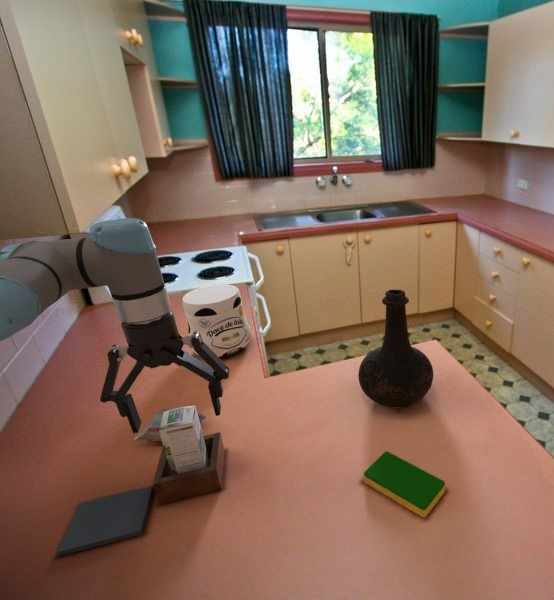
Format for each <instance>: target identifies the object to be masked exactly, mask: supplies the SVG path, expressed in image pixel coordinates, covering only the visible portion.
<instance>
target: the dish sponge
mask: <svg viewBox="0 0 554 600" xmlns="http://www.w3.org/2000/svg"><path fill="white" fill-rule="evenodd" d="M363 478H364V479H363V480H364V484H366V485H367V486H369V487H371V488H372V489H375V490H376V491H378V493H381V494H382V495H384V496H386V497H388V498H390V499H391V500H392V501H394V502H396V503H398V504H399V505H401V506H403V507H405V508H406V509H407V510H408V511H409V510H410V511H412V512H413V513H414V514H416V515H418V516H420V517H421V518H426V517H427V516H428V515H429V513H430V512H431V511H432V509H433V508H434V507H435V506H436V504H437V503H438V501H439V500H440V499H441V497H442V496H443V495H444V494H445V492H446V482H445V481H444V480H443V479H441V478H439V477H437V476H435V475H433V474H431V473H430V472H428V471H425V470H424V469H422V468H420V467H418V466H416V465H415V464H412V463H410V462H409V461H406V460H405V459H403V458H400V457H399V456H398V455H396V454H393V453H391V452H390V451H384V452H383V453H382V454H381V455H380V456H379V457H378V458H377V459H376V460H375V461H374V462H373V463H372V464H371V465H370V466H368V467H367V468H366V470H364V472H363Z"/></svg>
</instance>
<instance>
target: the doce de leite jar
mask: <svg viewBox="0 0 554 600" xmlns="http://www.w3.org/2000/svg"><path fill="white" fill-rule="evenodd" d="M181 300H182V301H181V302H182V308H183V311H184V316H185V318H186V322H187V327H188V332H187V336H190V335H193V333H194V332H195V331H197V332H199V333H200V335H201V337H202V340H203V342H204V343H205V344H206V345H207V346H208V347H209V348H210V349H211V350H212V351H213V352H214V353H215V354H216V355H217V356H218V357H219V358H220V359H221V358H225V357H228V356H232V355H234V354H236V353H239V352H240V351H242V350H243V349H245V348H246V347H247V346H248V345H249V343H250V342H251V338H252V330H251V329H252V328H251V325H250V323H249V321H248V318H247V317H246V315H245V310H244V305H243V304H244V303H243V301H242V296H241V291H240V289H239V288H238V287H237V286H236V285H233V284H226V283H219V284H218V283H217V284H211V285H205V286H201V287H198V288H194V289H192V290H190V291H188V292H187V293H186V294H184V295H183V297H182V299H181ZM190 349H191V350H192V352H193V353H194V354H195V355H196V356H198V357H200V356H199V355H198V354H197V352H196V351H195V350H194V348H190Z"/></svg>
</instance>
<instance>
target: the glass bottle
mask: <svg viewBox="0 0 554 600" xmlns="http://www.w3.org/2000/svg"><path fill="white" fill-rule="evenodd" d="M384 295H385V296H384V297H383V298H382V299H381V303H382V304H383V305H385V325H384V336H383V341H382V345H381V346H379V347H377V348H375V349H373V350H371V351H370V352H369V353H367V354H366V356H364V357H363V359H362V360H361V363H360V365H359V369H358V377H357V378H358V383H359V386H360V389H361V390H362V392H363V393H364V394H365V396H367V397H368V399H370V400H371V401H372V402H373V403H375V404H378V405H380V406H382V407H386V408H391V409H402V408H403V409H404V408H407V407H411V406H413V405H414V404H417V403H418V402H419V401H421V400H422V399H424V397H425V396H426V395H427V394H428V392H429V391H430V389H431V388H432V385H433V381H434V369H433V365H432V363H431V361H430V359H429V358H428V356H427V355H426V354H425V353H424V352H423V351H421V350H420V349H418V348H416V347H414V346H412V345H411V342H410V341H411V340H410V336H409V331H408V329H409V328H408V321H407V320H408V319H407V308H406V305H408V303H409V302H410V299H409V297H408V296H407V295H406V291H405V290H403V289H388V290H386V291H385V292H384Z"/></svg>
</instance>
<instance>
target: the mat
mask: <svg viewBox="0 0 554 600" xmlns="http://www.w3.org/2000/svg"><path fill="white" fill-rule="evenodd" d="M154 492H155V490H154V487H153V485H148V486H144V487H140V488H137V489H133V490H128V491H123V492H120V493H116V494H111V495H107V496H104V497H99V498H95V499H89V500H86V501H82V502H79V503H78V506H77V507H76V509H75V511H74V513H73V516H72V518H71V520H70V523H69V525H68V527H67V530H66V531H65V534H64V536H63V538H62V541H61V543H60V545H59V547H58V550H57V551H56V553H57V555H58V556H59V557H61V556H62V557H63V556H65V555H70V554H73V553H78V552H80V551H81V552H82V551H85V550H89V549H92V548H96V547H99V546H104V545H107V544H111V543H115V542H119V541H122V540H127V539H130V538H134V537H138V536H141V535H143V532H144V528H145V525H146V520H147V518H148V513H149V510H150V505H151V502H152V498H153V494H154Z"/></svg>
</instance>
